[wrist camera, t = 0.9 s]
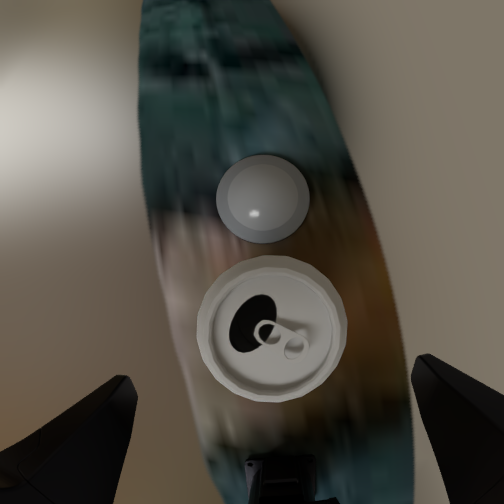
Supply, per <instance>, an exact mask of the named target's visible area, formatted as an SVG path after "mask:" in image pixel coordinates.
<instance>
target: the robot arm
mask: <svg viewBox="0 0 504 504" xmlns="http://www.w3.org/2000/svg"><path fill="white" fill-rule="evenodd" d="M411 382H412V386H413V389H414V393H415V396H416V400H417V403H418V407H419V411H420V414H421V418H422V421H423V424H424V427H425V429H426V432H427V434H428V437H429V440H430V443H431V445H432V448H433V451H434V454H435V457H436V460H437V463H438V466H439V469H440V472H441V475H442V478H443V481H444V485H445V488H446V491H447V495H448V498H449V501H450V504H504V395H503V394H501V393H499V392H497V391H495V390H494V389H491V388H490V387H488V386H486V385H485V384H483V383H481V382H479V381H477V380H475V379H474V378H472V377H470V376H468V375H467V374H465V373H463V372H461V371H460V370H458V369H456V368H454V367H452V366H451V365H449V364H447V363H445V362H444V361H441V360H440V359H438V358H436V357H435V356H433V355H431V354H423V355H419V356H418V357H417V358H416V360H415V364H414V367H413V370H412V374H411ZM137 400H138V396H137V392H136V390H135V388H134V385H133V383H132V381H131V379H130V377H128V376H127V375H116V376H114V377H113V378H112V379H110V380H109V381H107V382H106V383H104V384H103V385H101V386H100V387H99V388H97V389H96V390H94V391H93V392H92V393H90V394H89V395H87V396H86V397H84V398H83V399H82V400H80V401H79V402H77V403H76V404H75V405H73V406H72V407H70V408H69V409H67V410H66V411H64V412H63V413H62V414H60V415H59V416H57V417H56V418H54V419H53V420H51V421H50V422H48V423H47V424H45V425H44V426H43V427H41V428H40V429H38V430H37V431H35V432H34V433H32V434H30V435H29V436H28V437H26V438H24V439H23V440H21V441H19V442H17V443H16V444H14V445H12V446H10V447H9V448H6V449H4V450H3V451H1V452H0V504H113V502H114V497H115V494H116V490H117V486H118V482H119V478H120V474H121V471H122V467H123V463H124V460H125V456H126V453H127V449H128V446H129V442H130V438H131V434H132V428H133V422H134V417H135V411H136V405H137ZM309 459H312V460H311V461H308V460H309ZM248 463H252V464H251V465H250V464H248ZM245 471H246V480H247V489H248V497H249V503H248V504H340V503H339V502H338V500H337V498H336V497H333V498H329V499H327V500H320V501H315V472H316V459H315V456H314V455H302V456H282V457H267V458H254V459H247V460H246V461H245Z"/></svg>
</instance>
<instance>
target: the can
mask: <svg viewBox="0 0 504 504" xmlns="http://www.w3.org/2000/svg"><path fill="white" fill-rule="evenodd" d="M346 336H347V318H346V314H345V310H344V306H343V302H342V299H341V297H340V296H339V294H338V292H337V291H336V289H335V288H334V286H333V285H332V283H331V282H330V280H329V279H328V278H327V277H325V276H324V275H323V274H322V273H320V272H319V271H318V270H317V269H315V268H314V267H313V266H312V265H310V264H308V263H305V262H302V261H300V260H297V259H294V258H291V257H289V256H271V255H263V256H259V257H255V258H252V259H248V260H245V261H241V262H239V263H238V264H236V265H235V266H233V267H232V268H230V269H228V270H227V271H225V272H224V273H222V274H221V275H220V276H219V277H218V278H217V280H216V281H215V282H214V283H213V285H212V286H211V287H210V288H209V290H208V291H207V292H206V294H205V296H204V299H203V302H202V304H201V307H200V310H199V312H198V315H197V341H198V345H199V348H200V352H201V355H202V358H203V361H204V362H205V364H206V365H207V367H208V368H209V370H210V371H211V373H212V374H213V376H214V377H215V378H216V380H218V381H219V382H220V383H221V384H223V385H224V386H225V387H227V388H228V389H229V390H231V391H232V392H233V393H235V394H237V395H240V396H243V397H246V398H248V399H251V400H254V401H260V402H283V401H287V400H291V399H294V398H298V397H302V396H304V395H305V394H307V393H308V392H310V391H312V390H313V389H315V388H316V387H318V386H319V385H321V384H322V383H323V382H324V381H325V380H326V379H327V377H328V376H329V375H330V374H331V373H332V372H333V370H334V369H335V368H336V367H337V365H338V363H339V360H340V358H341V355H342V353H343V350H344V348H345V345H346Z"/></svg>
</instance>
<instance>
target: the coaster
mask: <svg viewBox="0 0 504 504" xmlns="http://www.w3.org/2000/svg"><path fill="white" fill-rule="evenodd" d="M309 201H310V196H309V189H308V186H307V183H306V181H305V179H304V177H303V175H302V174H301V172H300V171H299V170H298V169H297V168H296V167H295V166H294V165H292V164H291V163H289V162H288V161H286V160H284V159H282V158H279V157H276V156H271V155H255V156H251V157H247V158H245V159H242V160H240V161H239V162H237V163H236V164H234V165H233V166H232V167H231V168H229V169H228V171H227V172H226V173H225V174H224V176H223V177H222V179H221V181H220V183H219V186H218V189H217V196H216V202H217V209H218V212H219V215H220V217H221V219H222V221H223V223H224V224H225V225H226V227H227V228H228V229H229V230H230V231H231V232H232V233H233V234H235V235H236V236H237V237H239V238H241V239H243V240H245V241H248V242H251V243H257V244H269V243H275V242H278V241H281V240H283V239H285V238H287V237H289V236H290V235H291V234H293V233H294V232H295V231H296V230H297V229H298V228H299V227H300V225H301V224H302V223H303V221H304V219H305V217H306V214H307V212H308V208H309Z"/></svg>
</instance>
